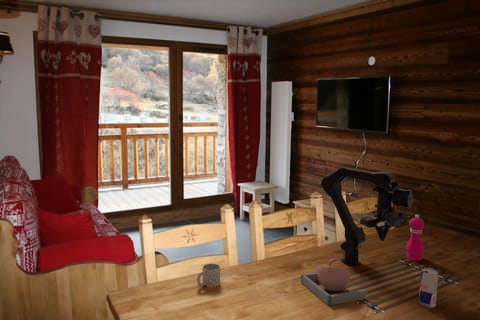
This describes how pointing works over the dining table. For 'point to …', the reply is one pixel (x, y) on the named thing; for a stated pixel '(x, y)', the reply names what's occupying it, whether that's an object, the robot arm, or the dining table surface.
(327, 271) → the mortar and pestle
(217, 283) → the mug
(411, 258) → the pepper mill
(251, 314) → the dining table surface
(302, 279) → the grey frame
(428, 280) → the energy drink
